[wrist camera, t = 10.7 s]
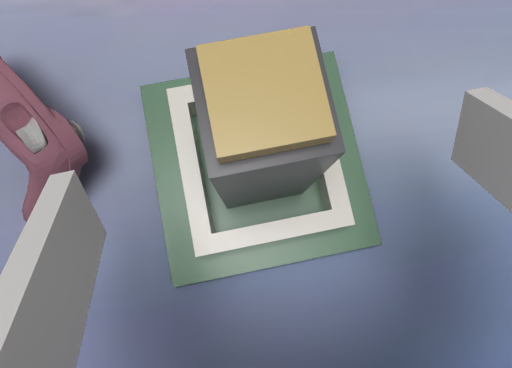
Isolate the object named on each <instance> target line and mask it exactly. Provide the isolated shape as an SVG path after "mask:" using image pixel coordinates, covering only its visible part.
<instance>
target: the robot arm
mask: <svg viewBox="0 0 512 368" xmlns="http://www.w3.org/2000/svg"><path fill="white" fill-rule="evenodd" d="M451 160H452V161H454V162H455V163H456V164H457V165H458V166H459V167H460V168H462V169H463V170H464V171H465V172H466V173H467V174H468V175H469V176H471V177H472V178H473V179H474V180H475V181H476V182H477V183H478V184H480V185H481V186H482V187H483V188H484V189H485V190H486V191H488V192H489V193H490V194H491V195H492V196H493V197H494V198H495V199H497V200H498V201H499V202H500V203H501V204H502V205H503V206H505V207H506V208H507V209H508V210H509V211H510V212H511V213H512V100H510V99H508V98H506V97H504V96H503V95H501V94H499V93H497V92H495V91H493V90H492V89H490V88H488V87H483V88H478V89H473V90H468V91H465V95H464V100H463V104H462V109H461V114H460V119H459V124H458V128H457V133H456V138H455V143H454V148H453V152H452V157H451ZM105 236H106V231H105V229H104V227H103V225H102V223H101V221H100V219H99V217H98V215H97V213H96V211H95V209H94V208H93V206H92V204H91V202H90V200H89V198H88V196H87V194H86V192H85V190H84V188H83V186H82V184H81V182H80V180H79V178H78V176H77V174H76V172H75V170H72V171H67V172H62V173H57V174H52V175H50V176H49V178H48V180H47V182H46V184H45V186H44V188H43V190H42V192H41V194H40V196H39V198H38V200H37V202H36V204H35V206H34V208H33V210H32V212H31V214H30V217H29V219H28V221H27V223H26V225H25V227H24V229H23V231H22V233H21V235H20V237H19V239H18V241H17V243H16V245H15V247H14V249H13V251H12V253H11V255H10V257H9V259H8V261H7V263H6V265H5V267H4V269H3V271H2V273H1V275H0V368H76V365H77V360H78V356H79V351H80V347H81V342H82V338H83V334H84V329H85V325H86V320H87V316H88V311H89V307H90V303H91V298H92V294H93V289H94V285H95V280H96V276H97V272H98V267H99V263H100V258H101V254H102V249H103V245H104V241H105Z"/></svg>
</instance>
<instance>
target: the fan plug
mask: <svg viewBox="0 0 512 368" xmlns="http://www.w3.org/2000/svg"><path fill="white" fill-rule="evenodd" d="M185 53H186V58H187V63H188V69H189V74H190V80H191V85H192V90H193V96H194V101H195V107H196V112H197V117H198V123H199V128H200V133H201V139H202V144H203V150H204V155H205V160H206V166H207V171H208V177H209V180H210V181H211V183H212V185H213V186H214V188H215V189H216V191H217V193H218V194H219V196H220V197H221V199H222V201H223V202H224V204H225V206H226V207H227V209H228V208H233V207H238V206H243V205H248V204H253V203H258V202H263V201H268V200H274V199H279V198H284V197H289V196H294V195H299V194H303V193H304V192H305V191H306V190H307V189H308V188H309V187H310V186H311V185H312V184H313V183H314V182H315V181H316V180H317V179H318V178H319V177H320V176H321V175H322V174H323V173H324V172H326V171H327V170H328V169H329V168H330V167H331V166H332V165H333V164H334V163H335V162H336V161H337V160H338V159H339V158H340V157H341V156H342V155H343V154H344V153H345V152H346V150H345V146H344V142H343V138H342V134H341V130H340V126H339V121H338V117H337V113H336V109H335V105H334V101H333V97H332V93H331V89H330V85H329V81H328V77H327V73H326V68H325V64H324V60H323V56H322V52H321V48H320V44H319V40H318V36H317V32H316V28H315V26H313V27H310V25H309V26H303V27H297V28H292V29H286V30H281V31H275V32H269V33H264V34H258V35H252V36H247V37H241V38H236V39H230V40H224V41H219V42H213V43H207V44H202V45H196V47H195V48H189V49H185Z"/></svg>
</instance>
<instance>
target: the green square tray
mask: <svg viewBox="0 0 512 368" xmlns="http://www.w3.org/2000/svg"><path fill="white" fill-rule="evenodd" d="M322 56H323V60H324V64H325V68H326V73H327V77H328V81H329V85H330V89H331V93H332V97H333V101H334V105H335V109H336V113H337V117H338V121H339V126H340V130H341V134H342V138H343V142H344V146H345V150H346V152H345V153H344V154H343V155H342V156H341V157H340V158H339V159H338V160H337V161H336V162H335V163H334V164H333V165H332V166H331V167H330V168H329V169H328V170H327V171H326V172H324V173H323V174H322V175H321V176H320V177H319V178H318V179H317V180H316V181H315V182H314V183H313V184H312V185H311V186H310V187H309V188H308V189H307V190H306V191H305V192H304V193H303V194H299V195H294V196H289V197H284V198H279V199H274V200H268V201H263V202H258V203H253V204H248V205H243V206H238V207H233V208H228V209H227V207H226V206H225V204H224V202H223V201H222V199H221V197H220V196H219V194H218V193H217V191H216V189H215V188H214V186H213V185H212V183H211V181H210V180H209V177H208V171H207V166H206V160H205V155H204V150H203V144H202V139H201V133H200V128H199V123H198V117H197V112H196V107H195V101H194V96H193V90H192V85H191V80H190V77H188V78H183V79H177V80H172V81H166V82H161V83H155V84H150V85H144V86H140V89H141V95H142V101H143V108H144V114H145V120H146V126H147V132H148V138H149V144H150V150H151V157H152V163H153V169H154V175H155V181H156V187H157V193H158V200H159V206H160V212H161V218H162V224H163V230H164V236H165V243H166V249H167V255H168V261H169V267H170V273H171V279H172V285H173V288H174V287H179V286H184V285H189V284H193V283H198V282H203V281H208V280H213V279H217V278H222V277H227V276H232V275H237V274H242V273H246V272H251V271H256V270H261V269H266V268H270V267H275V266H280V265H285V264H290V263H294V262H299V261H304V260H309V259H314V258H318V257H323V256H328V255H333V254H338V253H342V252H347V251H352V250H357V249H362V248H366V247H371V246H376V245H381V244H382V242H381V238H380V234H379V230H378V226H377V222H376V218H375V214H374V210H373V206H372V202H371V199H370V195H369V191H368V187H367V183H366V179H365V175H364V171H363V167H362V163H361V159H360V155H359V151H358V147H357V143H356V139H355V135H354V131H353V127H352V123H351V119H350V115H349V111H348V107H347V103H346V99H345V95H344V91H343V87H342V83H341V79H340V75H339V71H338V67H337V63H336V59H335V55H334V51H332V52H326V53H322Z"/></svg>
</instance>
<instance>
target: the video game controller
mask: <svg viewBox="0 0 512 368" xmlns="http://www.w3.org/2000/svg"><path fill="white" fill-rule="evenodd" d="M84 139H85V136H84V131H83V129H82V127H81V126H80V125H79V124H77V123H76V122H74V121H72V120H69V121H67V120H66V119H65V118H64V117H63V116H62V115H60V114H59V113H58V112H57V111H56V110H54V109H52V108H50V107H46V106H45V105H44V104H43V103H42V102H41V101H40V99H39V98H38V97H37V96H36V95H35V93H34V92H33V91H32V90H31V89H30V88H29V87H28V85H27V84H26V83H25V82H24V81H23V80H22V79H21V78H20V77H19V76H18V75H17V74H16V73H15V72H14V71H13V70H12V69H11V68H10V67H9V66H8V65H7V64H6V63H5V62H4V61H3V60H2V58H1V57H0V140H1V141H2V142H3V143H4V144H5V146H6V147H7V148H8V149H9V150H10V151H11V152H12V153H13V154H14V155H15V156H16V157H17V158H18V159H19V160H21V161H22V162H23V163H24V164H25V165H26V167H27V169H28V171H29V177H30V178H29V184H28V190H27V194H26V197H25V200H24V203H23V209H22V212H23V217H24V220H25V221H26V222H27V221H28V219H29V217H30V214H31V212H32V210H33V208H34V206H35V204H36V202H37V200H38V198H39V196H40V194H41V192H42V190H43V188H44V186H45V184H46V182H47V180H48V178H49V176H50V175H52V174H57V173H62V172H67V171H72V170H75V172H76V174H77V176H78V178H79V176H80V172H81V169H82V166H83V165H84V164H86V163H87V162H88V154H87V151H86V149H85V146H84V144H83V143H82V141H84Z"/></svg>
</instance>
